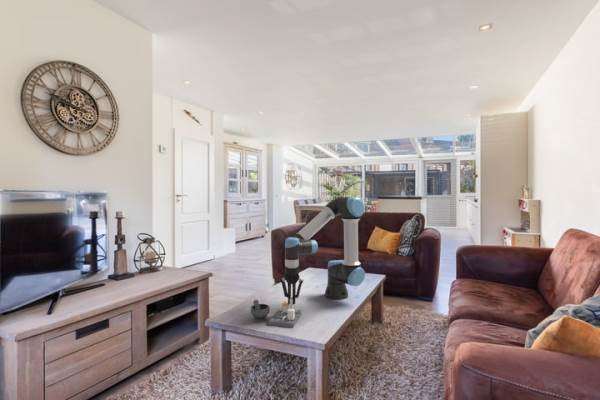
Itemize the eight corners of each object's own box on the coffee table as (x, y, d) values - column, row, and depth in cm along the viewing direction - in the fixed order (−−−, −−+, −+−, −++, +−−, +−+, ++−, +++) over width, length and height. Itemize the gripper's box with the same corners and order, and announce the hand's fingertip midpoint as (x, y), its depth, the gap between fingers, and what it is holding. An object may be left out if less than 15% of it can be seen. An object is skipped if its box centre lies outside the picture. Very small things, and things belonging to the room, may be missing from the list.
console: (301, 314, 175) (301, 310, 175) (293, 327, 157) (293, 323, 157) (278, 312, 178) (278, 308, 178) (268, 325, 160) (268, 320, 160)
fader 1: (289, 310, 174) (289, 302, 174) (287, 312, 171) (287, 304, 171) (283, 310, 175) (283, 301, 175) (282, 312, 172) (282, 303, 172)
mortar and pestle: (256, 315, 173) (256, 293, 173) (272, 317, 170) (272, 295, 170) (246, 323, 162) (246, 300, 162) (263, 325, 159) (263, 302, 159)
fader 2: (294, 317, 164) (294, 309, 164) (293, 320, 161) (293, 311, 161) (288, 317, 165) (288, 308, 165) (287, 319, 162) (287, 310, 162)
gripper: (305, 265, 174) (304, 308, 174) (282, 264, 177) (282, 306, 177) (302, 268, 167) (301, 313, 167) (278, 267, 169) (278, 311, 170)
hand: (291, 309), depth 172 cm, fingers closed
